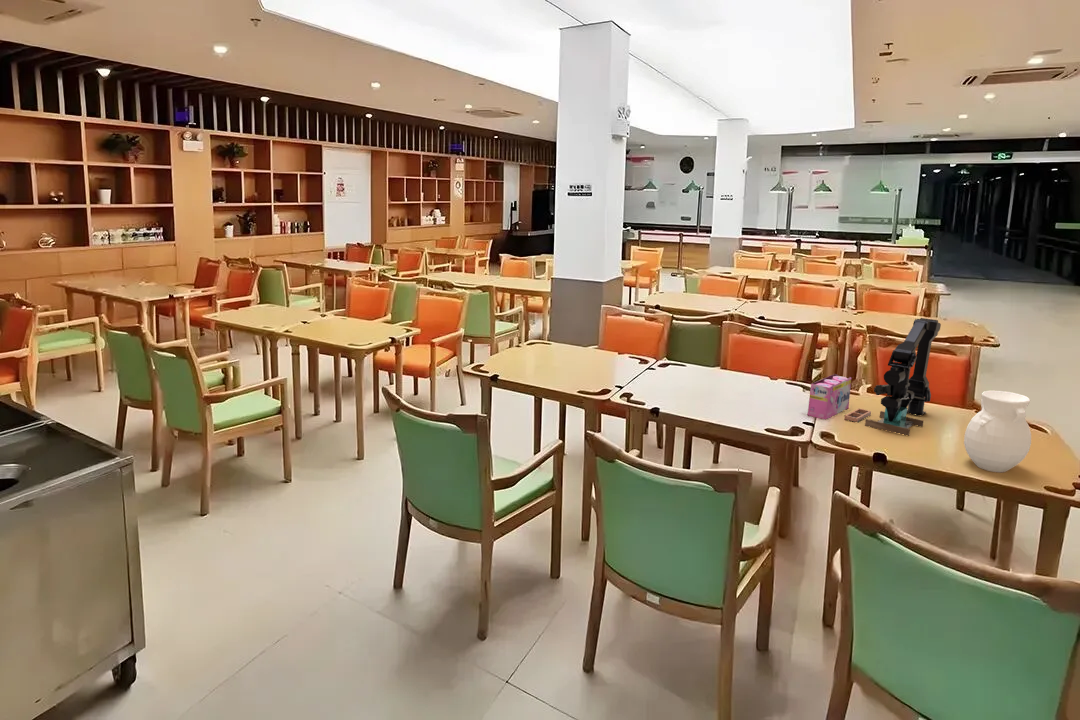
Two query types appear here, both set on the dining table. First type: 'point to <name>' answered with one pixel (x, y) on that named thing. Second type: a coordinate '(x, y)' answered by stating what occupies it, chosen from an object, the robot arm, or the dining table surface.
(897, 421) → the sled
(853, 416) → the tray
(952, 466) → the dining table surface
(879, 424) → the walnut channel
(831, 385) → the gum box
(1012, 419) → the white vase
